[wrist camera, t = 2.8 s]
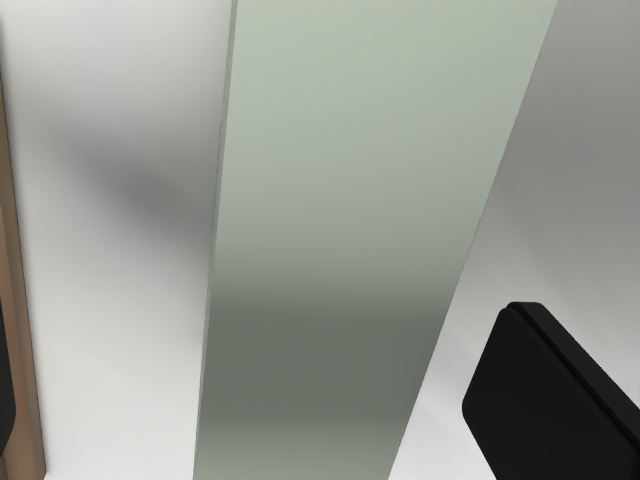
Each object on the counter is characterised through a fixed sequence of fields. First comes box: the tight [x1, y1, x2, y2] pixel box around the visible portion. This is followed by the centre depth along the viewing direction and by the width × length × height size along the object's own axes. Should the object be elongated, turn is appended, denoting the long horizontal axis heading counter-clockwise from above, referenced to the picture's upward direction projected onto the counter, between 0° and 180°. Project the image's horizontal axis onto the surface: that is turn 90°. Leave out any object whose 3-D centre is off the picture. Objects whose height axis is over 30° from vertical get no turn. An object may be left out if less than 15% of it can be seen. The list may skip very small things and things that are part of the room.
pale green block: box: [193, 0, 558, 480], centre depth 13 cm, size 4×14×9 cm, turn 170°
